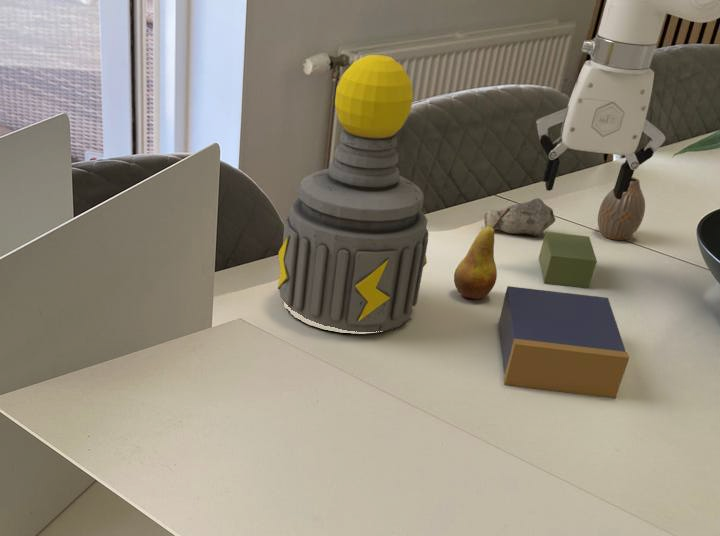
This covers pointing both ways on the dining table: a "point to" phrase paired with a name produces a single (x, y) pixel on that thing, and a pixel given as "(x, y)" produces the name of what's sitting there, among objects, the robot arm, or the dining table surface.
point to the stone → (522, 218)
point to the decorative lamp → (358, 214)
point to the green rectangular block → (567, 260)
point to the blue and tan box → (561, 342)
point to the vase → (622, 212)
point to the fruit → (478, 266)
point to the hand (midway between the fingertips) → (582, 191)
